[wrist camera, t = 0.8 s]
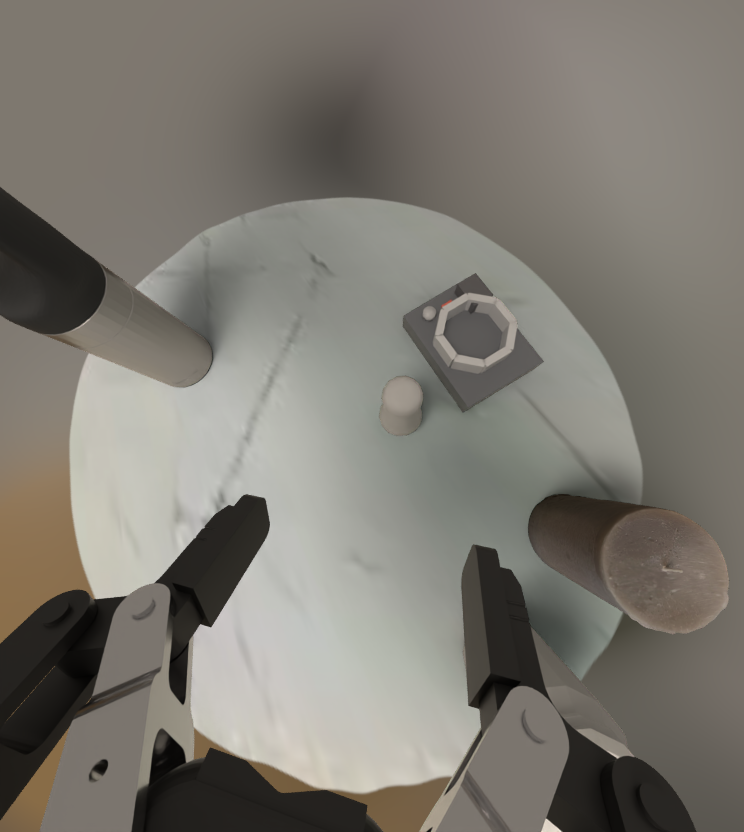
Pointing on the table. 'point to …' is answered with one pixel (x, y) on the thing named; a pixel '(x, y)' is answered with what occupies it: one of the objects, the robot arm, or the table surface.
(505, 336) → the octagon ring base
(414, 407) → the salt shaker
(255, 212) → the table surface
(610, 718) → the jar
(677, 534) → the pillar candle
